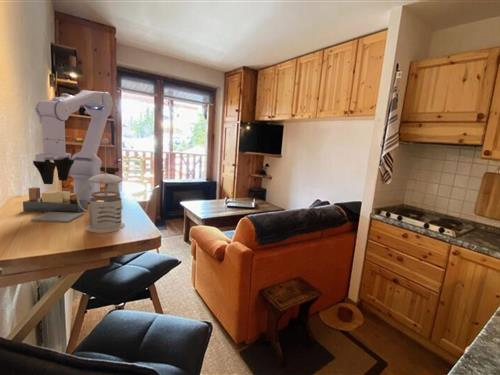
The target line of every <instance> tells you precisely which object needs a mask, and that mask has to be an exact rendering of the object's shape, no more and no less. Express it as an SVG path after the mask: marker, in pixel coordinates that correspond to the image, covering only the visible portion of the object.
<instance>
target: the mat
mask: <svg viewBox="0 0 500 375" xmlns="http://www.w3.org/2000/svg"><path fill="white" fill-rule="evenodd" d="M82 216H84V212H80V213H69V212H44V213H43V214H40V215H37V216H35V217H33V218H30V222H51V223H52V222H55V223H71V222H72V221H74V220H76V219H78V218H80V217H82Z"/></svg>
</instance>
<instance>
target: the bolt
mask: <svg viewBox="0 0 500 375" xmlns="http://www.w3.org/2000/svg"><path fill="white" fill-rule="evenodd" d="M100 171H101V172H103V174H104V173H105V165H103V166H102V165H101V167H100ZM117 172H120V167H118V166H116V165H115V166H114V165H113V166H111V165H106V173H107V174H111V175H115V176H116V173H117ZM107 185H108V184H107V183H106V189H107Z"/></svg>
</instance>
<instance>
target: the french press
mask: <svg viewBox="0 0 500 375" xmlns="http://www.w3.org/2000/svg"><path fill="white" fill-rule="evenodd" d="M101 143H102V144H104V166H105V173H104V172H103V173H100V175H96V176H93V177H91V178H90V179H89V181H90V182H93V183H100V184H104V191H103V190H100V191H99V192H94V193H92V194H91V195H92V196H93V197H94V198H91V199H90V202H89V209H84V208H82V206H81V205H80V202H79V199H80V194H81V192H82V191H83V190H84V189H85V188H87V187H89V190H90V191H91V186H90V185H85V186H87V187H85V186H83V187H85V188H83V187H82V188H83V189H82V188H81V189H82V190H81V189H80V190H79V192H80V191H81V192H80V194H79V192H78V194H77V202H78V205H79V206H80V208H81V209H83V210H84V211H83V212H87V213H88V214H89V215H88V218H89V224H88V225H87V226H86V229H85V230H86V231H88V232H91V233H99V234H100V233H102V234H105V233H113V232H116V231H117V232H118V231H120V230H123V229H124V228H125V227H126V224H125V223H124V222H123V221H122V211H121V201H122V197H121V198H120V197H117V196H119V195H120V196H121V192H120V193H119V192H112V191H110V192H109V191H106V183H118V182H120V183H121V182H122V181H123V179H122V178H121V177H120V176H118V175H116V174H115V175H111V174H107V173H106V166H107V145H106V144H110V140H109V139H108V138H101ZM117 176H118V177H117ZM118 184H119V183H118ZM78 195H79V197H78ZM101 201H102V202H101ZM104 201H106V202H104ZM103 206H108V207H111V208H117V210H113V209H109V208H105V207H103ZM105 211H111V212H116V213H117V214H112V213H108V212H105ZM106 215H109V216H114V217H109V216H106Z"/></svg>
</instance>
